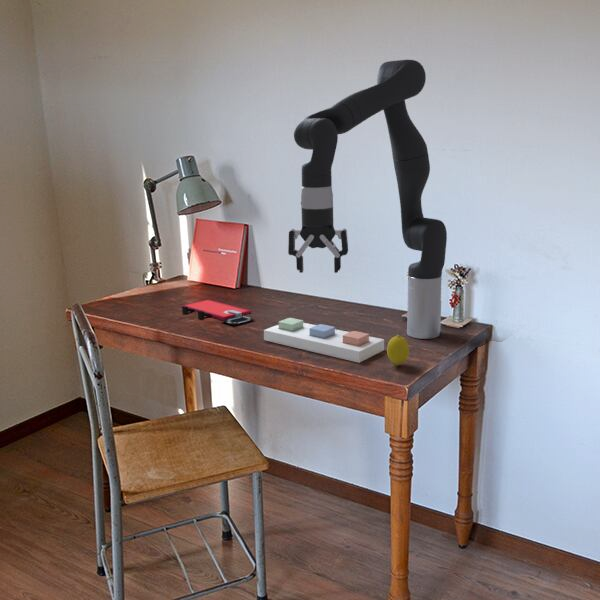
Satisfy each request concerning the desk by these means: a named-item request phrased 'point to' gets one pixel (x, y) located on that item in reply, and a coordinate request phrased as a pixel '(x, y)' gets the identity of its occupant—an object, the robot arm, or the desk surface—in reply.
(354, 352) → the button panel
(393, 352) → the lemon
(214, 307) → the red board with handle
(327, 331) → the slate button
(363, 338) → the terracotta button
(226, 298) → the desk surface
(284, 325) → the sage button
